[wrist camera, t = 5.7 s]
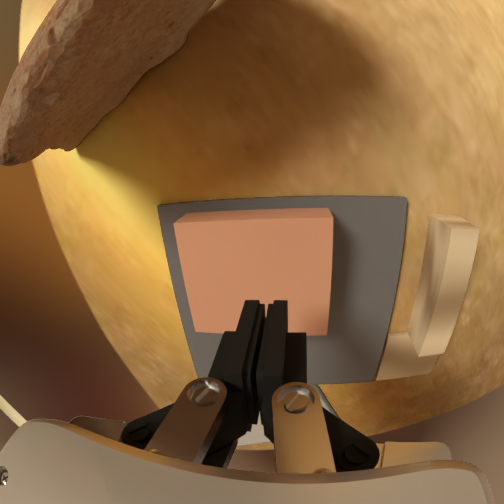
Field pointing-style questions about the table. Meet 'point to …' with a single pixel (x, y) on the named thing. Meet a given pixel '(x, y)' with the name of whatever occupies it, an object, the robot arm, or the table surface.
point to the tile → (257, 265)
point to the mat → (342, 281)
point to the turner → (433, 299)
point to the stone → (86, 68)
